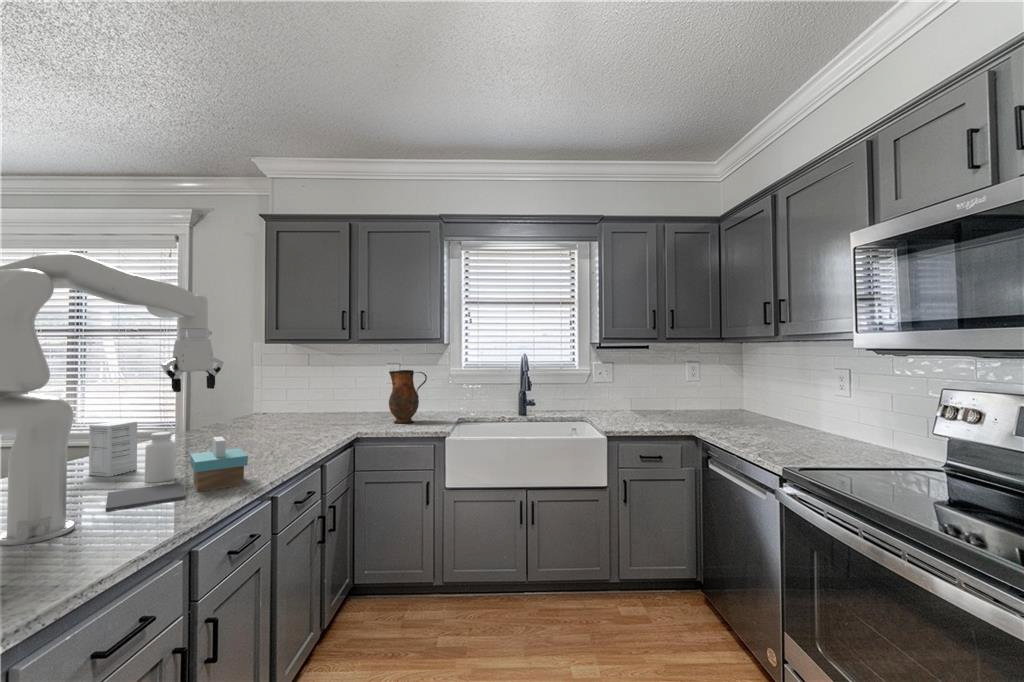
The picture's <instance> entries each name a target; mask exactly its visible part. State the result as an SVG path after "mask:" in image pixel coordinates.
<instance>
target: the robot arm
mask: <svg viewBox="0 0 1024 682" xmlns="http://www.w3.org/2000/svg"><path fill="white" fill-rule="evenodd" d="M55 289H71V290H75V291H78V292H81V293H84V294H88V295H91V296H94V297H97V298H101V299H102V300H106V301H109V302H112V303H115V304H116V303H117V304H122V305H130V306H142V307H143V306H144V307H146V310H147V311H148V312H149V313H150V314H151V315H153V316H154V317H157V318H162V319H164V318H165V319H171V318H172V319H173V318H178V339H175V340H174V343H173V344H174V345H173V350H172V359H170V360H168V361H166V362H164V363H162V364H161V365H160V366H161V369H162V370H163V372H164V374H165V375H167V376H168V377H169V379H171V390H172V391H173V393H180V392H181V391H182V380H181V378H180V377H181V375H183V374H184V373H190V372H206V374H207V375H206V389H215V386H216V376H218V373H219V372H220V371H222V370H221V369H222V367H223V365H224V363H225V362H224V361H222V360H220V359H218V358H216V357H214V352H213V351H214V350H213V346H212V342H211V339H210V338H209V337H210V336H212V335H213V332H212V330H211V331H210V330H209V321H208V320H209V315H208V312H209V311H208V310H209V308H208V306H209V305H208V303H209V302H208V298H207V297H206V296H205V295H202V294H195V293H194V292H191V291H189V290H187V289H185V288H183V287H181V286H178V285H175V284H173V283H169V282H166V281H162V280H157V279H153V278H150V277H146V276H141V275H138V274H133V273H130V272H127V271H126V270H125V271H124V270H121V269H120V268H117V267H115V266H112V265H109V264H107V263H104V262H102V261H98V260H97V259H93V258H91V257H89V256H87V255H83V254H79V253H76V252H55V253H54V252H53V253H52V252H51V253H44V254H38V255H35V256H31V257H28V258H23V259H20V260H17V261H13V262H11V263H7V264H4V265H0V435H1V436H10V437H15V439H14V441H13V444H12V446H11V448H10V451H9V453H8V454H9V455H8V460H7V461H8V462H7V500H6V501H7V502H6V503H7V505H6V507H7V511H6V512H7V514H6V530H5V531H2V532H1V533H0V545H1V546H21V545H26V544H28V545H29V544H33V543H38V542H43V541H47V540H51V539H54V538H58V537H60V536H63V535H66V534H68V533H69V532H71V531H73V530H74V529H75V528H76V527H75V526H76V523H75V521H73V520H71V519H67V487H68V486H67V482H68V480H67V479H68V446H69V438H70V433H71V430H72V425H73V423H74V410H73V408H72V406H71V405H70V404H69V402H67V401H66V400H65V399H63V398H61V397H58V396H54V395H49V394H29V393H32V392H36V391H38V390H40V389H42V388H44V387H45V386H47V385H48V383H49V381H50V378H51V371H50V366H49V365H48V362H47V359H46V356H45V354H44V351H43V348H42V345H41V343H40V341H39V338H38V335H37V331H36V326H35V322H36V318H37V315H38V314H39V312H40V310H41V309H42V308H43V306H45V304H46V303H47V302H48V301H50V299H51V298H52V297H53V294H54V290H55ZM214 364H216V365H215V367H214ZM170 367H171V368H170ZM171 369H172V370H173V371H172V370H171Z"/></svg>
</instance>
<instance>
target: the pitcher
mask: <svg viewBox="0 0 1024 682" xmlns="http://www.w3.org/2000/svg"><path fill="white" fill-rule="evenodd" d="M388 373H389V375H390V378H391V382H392V383H391V384H392V385H391V386H392V387H391V388H392V389H391V390H392V391H391V393H390V396H389V399H388V408H389V411H390V413H391V414H392V416H393V417H394V418H395V420H394V421H393V424H399V425H403V424H404V425H407V424H408V425H409V424H413V423H414V420H412V418H413V417H414V415H415V414H416V413H417V411H418V408H419V403H420V400H419V393H418V391H419V389H420V388H421V387H422V386H423V385H424V384H425V383H426V382H427V379H428V378H427V374H426V373H424V372H422V371H415V370H413V369H402V370H393V371H392V370H390V371H389V372H388ZM417 373H419V374H423V375H424V378H425V379H424V381H423V382H422V383H421V384H420V385H419V386H418V387H417V389H416V387H415V383H414V375H415V374H417Z"/></svg>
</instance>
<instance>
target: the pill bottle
mask: <svg viewBox="0 0 1024 682" xmlns="http://www.w3.org/2000/svg"><path fill="white" fill-rule="evenodd" d="M144 458H145V460H144V482H145V481H146V482H145V483H149V482H150V483H151V484H152V483H153V484H154V483H156V482H157V483H163V482H168V481H172V480H174V479H175V477H176V464H177V463H176V461H177V459H176V458H177V443H176V442H175V441H174V440H172V432H171V431H159V432H153V433H151V434H150V442H148V443H147V444H146V445H145V456H144ZM157 483H156V484H157Z"/></svg>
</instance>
